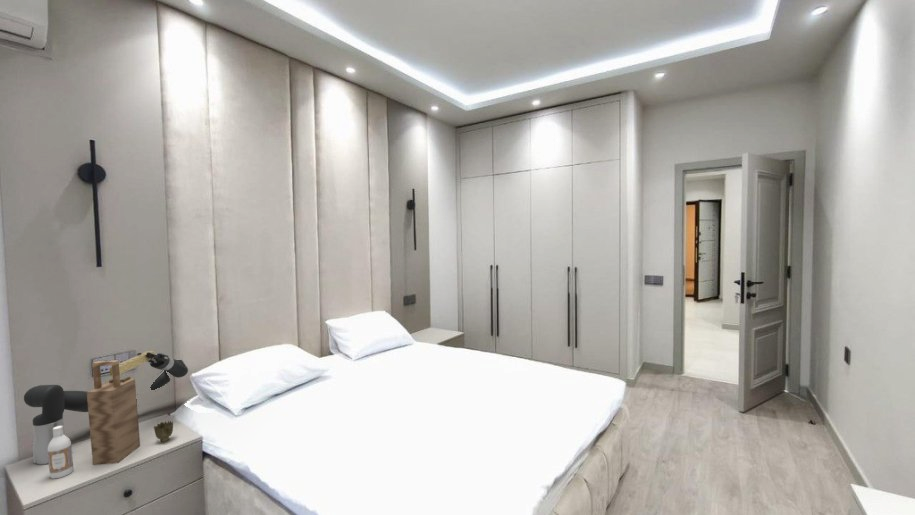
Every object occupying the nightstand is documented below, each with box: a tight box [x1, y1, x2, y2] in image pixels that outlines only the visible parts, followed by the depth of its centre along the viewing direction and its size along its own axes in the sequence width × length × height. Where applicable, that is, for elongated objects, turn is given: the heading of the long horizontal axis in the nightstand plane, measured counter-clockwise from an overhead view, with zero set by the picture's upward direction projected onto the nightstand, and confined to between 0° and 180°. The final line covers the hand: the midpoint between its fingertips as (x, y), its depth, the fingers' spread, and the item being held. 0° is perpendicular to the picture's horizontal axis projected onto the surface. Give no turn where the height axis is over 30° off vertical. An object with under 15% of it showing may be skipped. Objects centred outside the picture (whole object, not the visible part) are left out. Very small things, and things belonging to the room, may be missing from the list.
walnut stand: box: [87, 359, 141, 466], centre depth 176 cm, size 10×14×44 cm
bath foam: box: [48, 426, 74, 480], centre depth 163 cm, size 7×7×20 cm
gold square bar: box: [109, 350, 156, 377], centre depth 190 cm, size 4×26×4 cm, turn 7°
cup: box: [153, 420, 174, 443], centre depth 189 cm, size 8×7×8 cm
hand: (142, 354), depth 196 cm, fingers closed on gold square bar, 3 cm apart
